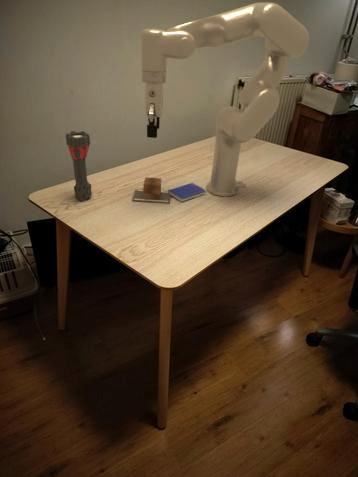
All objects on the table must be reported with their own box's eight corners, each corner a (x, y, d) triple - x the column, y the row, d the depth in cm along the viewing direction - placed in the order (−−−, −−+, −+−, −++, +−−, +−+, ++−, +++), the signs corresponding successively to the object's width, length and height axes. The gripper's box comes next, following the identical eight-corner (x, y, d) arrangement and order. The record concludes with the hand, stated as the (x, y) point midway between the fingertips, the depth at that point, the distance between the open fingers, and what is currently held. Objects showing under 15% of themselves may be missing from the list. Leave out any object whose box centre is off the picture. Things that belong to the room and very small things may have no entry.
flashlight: (88, 189, 126) (81, 128, 113) (99, 196, 122) (93, 134, 109) (69, 194, 122) (60, 132, 109) (80, 202, 117) (72, 139, 104)
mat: (171, 192, 128) (171, 191, 128) (170, 203, 121) (170, 202, 120) (135, 190, 128) (135, 189, 128) (132, 201, 120) (132, 200, 120)
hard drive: (191, 182, 133) (168, 189, 125) (206, 190, 128) (181, 198, 121) (191, 185, 133) (167, 193, 126) (205, 193, 129) (181, 202, 122)
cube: (160, 192, 126) (161, 178, 123) (159, 200, 122) (160, 185, 118) (145, 191, 126) (145, 177, 123) (143, 199, 121) (143, 184, 118)
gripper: (164, 82, 94) (162, 141, 103) (167, 73, 108) (166, 126, 118) (138, 81, 94) (138, 140, 103) (144, 71, 108) (145, 124, 118)
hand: (153, 132), depth 111 cm, fingers open, 9 cm apart
